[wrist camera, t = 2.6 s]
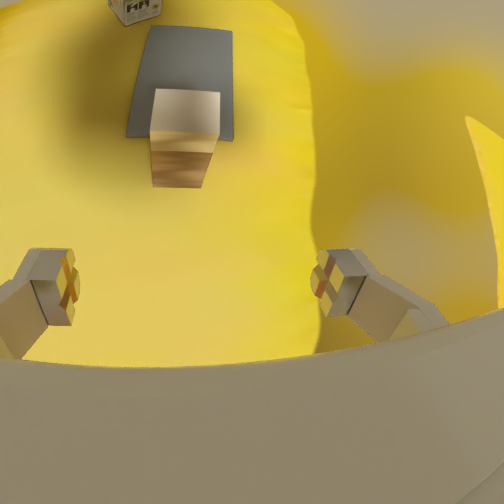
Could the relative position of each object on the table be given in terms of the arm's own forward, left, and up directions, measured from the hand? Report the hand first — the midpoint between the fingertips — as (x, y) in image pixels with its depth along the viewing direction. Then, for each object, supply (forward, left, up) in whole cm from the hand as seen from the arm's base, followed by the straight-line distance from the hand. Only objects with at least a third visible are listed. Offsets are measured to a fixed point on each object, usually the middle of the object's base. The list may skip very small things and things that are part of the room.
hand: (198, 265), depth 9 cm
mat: (0, +26, -20) cm, 33 cm away
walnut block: (0, +12, -20) cm, 24 cm away
